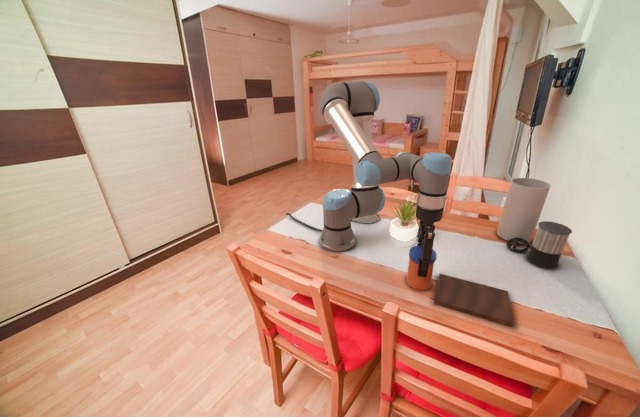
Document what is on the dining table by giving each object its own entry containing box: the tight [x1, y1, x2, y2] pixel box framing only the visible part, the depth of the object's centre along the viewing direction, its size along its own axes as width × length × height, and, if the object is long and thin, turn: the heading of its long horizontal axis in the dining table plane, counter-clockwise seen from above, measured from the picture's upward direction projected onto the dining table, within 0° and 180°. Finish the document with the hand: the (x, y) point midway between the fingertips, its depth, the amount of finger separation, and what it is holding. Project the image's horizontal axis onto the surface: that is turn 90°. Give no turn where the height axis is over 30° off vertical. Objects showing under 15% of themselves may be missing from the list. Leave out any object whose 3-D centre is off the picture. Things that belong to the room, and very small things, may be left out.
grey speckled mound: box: [351, 213, 380, 224], centre depth 138 cm, size 16×25×7 cm, turn 47°
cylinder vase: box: [496, 177, 551, 245], centre depth 109 cm, size 12×12×25 cm
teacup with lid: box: [404, 193, 418, 219], centre depth 136 cm, size 12×9×12 cm
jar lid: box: [408, 244, 438, 265], centre depth 85 cm, size 8×8×2 cm
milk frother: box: [505, 220, 573, 270], centre depth 98 cm, size 14×16×15 cm
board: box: [434, 273, 514, 327], centre depth 82 cm, size 20×14×2 cm
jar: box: [406, 256, 436, 291], centre depth 88 cm, size 8×8×12 cm
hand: (420, 267), depth 88 cm, fingers closed on jar lid, 8 cm apart
